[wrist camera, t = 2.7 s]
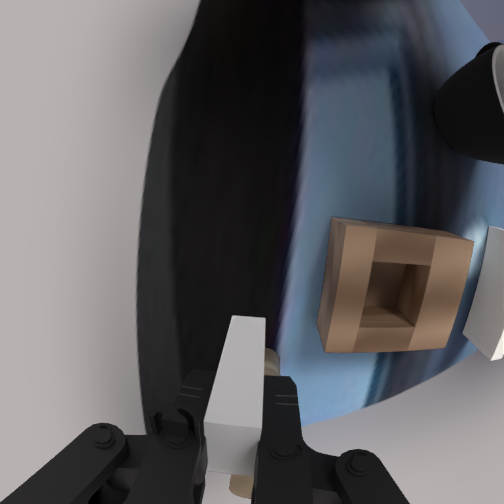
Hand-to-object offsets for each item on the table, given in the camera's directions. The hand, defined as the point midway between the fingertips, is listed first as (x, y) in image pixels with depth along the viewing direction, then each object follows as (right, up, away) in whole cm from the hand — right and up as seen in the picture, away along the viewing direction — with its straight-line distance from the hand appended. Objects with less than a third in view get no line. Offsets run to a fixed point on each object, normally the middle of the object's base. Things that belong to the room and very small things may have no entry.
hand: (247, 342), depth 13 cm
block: (+12, +2, +10) cm, 15 cm away
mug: (+20, +18, +5) cm, 27 cm away
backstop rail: (+25, +1, +9) cm, 26 cm away
